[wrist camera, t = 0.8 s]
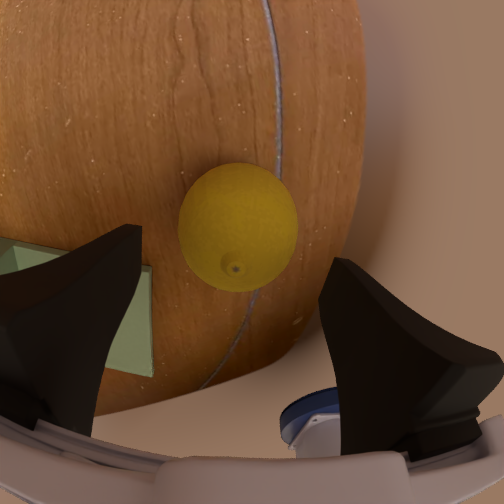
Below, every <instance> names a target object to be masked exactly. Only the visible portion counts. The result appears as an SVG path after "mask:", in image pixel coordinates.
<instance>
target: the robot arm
mask: <svg viewBox="0 0 504 504" xmlns="http://www.w3.org/2000/svg"><path fill="white" fill-rule="evenodd" d="M141 273H142V226H139V225H132V224H124V225H122V226H120V227H118V228H116V229H114V230H112V231H110V232H108V233H106V234H104V235H102V236H101V237H99V238H97V239H95V240H93V241H91V242H89V243H87V244H85V245H83V246H81V247H79V248H77V249H75V250H73V251H71V252H69V253H67V254H65V255H62V256H60V257H58V258H55V259H52V260H50V261H47V262H45V263H42V264H39V265H35V266H32V267H29V268H26V269H22V270H19V271H15V272H11V273H7V274H2V275H0V488H2V489H4V490H5V491H7V492H9V493H10V494H12V495H14V496H16V497H18V498H20V499H21V500H23V501H25V502H27V503H29V504H459V503H461V502H463V501H465V500H467V499H469V498H471V497H473V496H475V495H477V494H478V493H480V492H482V491H484V490H485V489H487V488H489V487H490V486H492V485H493V484H495V483H497V482H498V481H500V480H501V479H503V478H504V419H503V417H502V415H497V416H494V417H492V418H489V419H486V420H484V421H482V422H481V423H480V424H478V422H477V420H476V417H478V416H479V415H480V411H479V409H478V407H477V406H478V405H479V404H480V403H481V402H482V401H483V400H484V399H485V398H486V397H487V396H488V395H489V394H490V392H492V390H494V388H495V387H496V386H497V385H498V384H499V382H500V381H501V379H502V377H503V375H504V363H503V361H502V360H501V358H500V356H499V355H498V354H497V353H496V352H494V351H492V350H489V349H486V348H483V347H481V346H478V345H475V344H473V343H470V342H468V341H466V340H464V339H462V338H459V337H457V336H455V335H453V334H451V333H449V332H447V331H445V330H444V329H442V328H440V327H438V326H437V325H435V324H433V323H432V322H430V321H429V320H427V319H425V318H424V317H422V316H421V315H419V314H418V313H416V312H415V311H414V310H412V309H411V308H409V307H408V306H407V305H405V304H404V303H403V302H401V301H400V300H399V299H398V298H396V297H395V296H394V295H393V294H391V293H390V292H389V291H388V290H387V289H385V288H384V287H383V286H382V285H381V284H379V283H378V282H377V281H376V280H375V279H374V278H372V277H371V276H370V275H369V274H368V273H366V272H365V271H364V270H363V269H361V268H360V267H359V266H358V265H356V264H355V263H354V262H352V261H350V260H349V259H343V258H337V257H334V260H333V263H332V265H331V268H330V271H329V273H328V276H327V278H326V281H325V283H324V286H323V289H322V291H321V294H320V296H319V298H318V302H319V311H320V317H321V323H322V327H323V330H324V334H325V338H326V342H327V345H328V349H329V352H330V356H331V360H332V363H333V367H334V372H335V376H336V383H337V391H338V400H339V412H340V413H315V414H313V415H312V416H311V417H310V418H309V420H308V421H307V422H306V424H305V425H304V426H303V428H302V429H301V430H300V432H299V433H298V434H297V436H296V437H295V438H294V440H293V441H292V442H291V443H290V445H289V446H288V449H289V450H296V459H295V458H290V459H268V458H267V459H266V458H265V459H264V458H241V457H209V456H191V457H184V458H178V457H171V456H166V455H160V454H154V453H150V452H145V451H140V450H136V449H131V448H127V447H123V446H119V445H115V444H112V443H108V442H104V441H101V440H97V439H94V438H91V432H92V425H93V418H94V412H95V407H96V401H97V396H98V391H99V387H100V383H101V379H102V375H103V371H104V367H105V364H106V360H107V357H108V353H109V350H110V347H111V345H112V342H113V339H114V337H115V335H116V333H117V331H118V328H119V326H120V324H121V322H122V320H123V318H124V316H125V313H126V311H127V309H128V307H129V305H130V303H131V301H132V299H133V296H134V294H135V291H136V288H137V285H138V282H139V279H140V276H141Z"/></svg>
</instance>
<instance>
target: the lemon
mask: <svg viewBox="0 0 504 504" xmlns="http://www.w3.org/2000/svg"><path fill="white" fill-rule="evenodd" d="M297 234H298V221H297V212H296V207H295V205H294V202H293V200H292V198H291V195H290V193H289V191H288V190H287V189H286V187H285V186H284V185H283V184H282V182H281V181H280V180H279V179H278V178H277V177H276V176H274V175H273V174H272V173H270V172H269V171H267V170H266V169H264V168H261V167H259V166H256V165H254V164H248V163H240V162H237V163H229V164H223V165H221V166H218V167H216V168H213V169H211V170H209V171H208V172H206V173H205V174H204V175H202V176H201V177H200V178H198V179H197V180H196V182H195V183H194V184H193V185H192V187H191V188H190V189H189V191H188V192H187V194H186V196H185V198H184V201H183V203H182V206H181V208H180V212H179V221H178V237H179V242H180V248H181V252H182V254H183V256H184V258H185V260H186V262H187V264H188V266H189V267H190V268H191V270H192V271H193V272H194V273H195V274H196V275H197V276H198V277H199V278H200V279H202V280H203V281H204V282H206V283H207V284H208V285H211V286H213V287H215V288H217V289H220V290H225V291H230V292H246V291H251V290H255V289H258V288H260V287H262V286H265V285H267V284H268V283H269V282H271V281H272V280H273V279H275V278H276V277H278V276H279V275H280V273H281V272H282V271H283V270H284V269H285V267H286V266H287V265H288V263H289V261H290V259H291V257H292V255H293V252H294V250H295V246H296V240H297Z"/></svg>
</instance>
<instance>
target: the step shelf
mask: <svg viewBox="0 0 504 504" xmlns="http://www.w3.org/2000/svg"><path fill="white" fill-rule="evenodd" d="M69 252H70V251H65V250H60V249H55V248H50V247H45V246H40V245H35V244H30V243H26V242H21V241H16V240H11V239H7V238H2V237H0V275H2V274H7V273H11V272H15V271H19V270H22V269H26V268H29V267H32V266H35V265H39V264H42V263H45V262H47V261H50V260H52V259H55V258H58V257H60V256H62V255H65V254H67V253H69ZM105 367H108V368H112V369H116V370H120V371H125V372H129V373H133V374H138V375H143V376H148V377H153V374H154V360H153V339H152V267H151V266H146V265H142V273H141V276H140V279H139V282H138V285H137V288H136V291H135V294H134V296H133V299H132V301H131V303H130V305H129V307H128V309H127V311H126V313H125V316H124V318H123V320H122V322H121V324H120V326H119V328H118V331H117V333H116V335H115V337H114V339H113V342H112V345H111V347H110V350H109V353H108V357H107V360H106V364H105Z"/></svg>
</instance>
